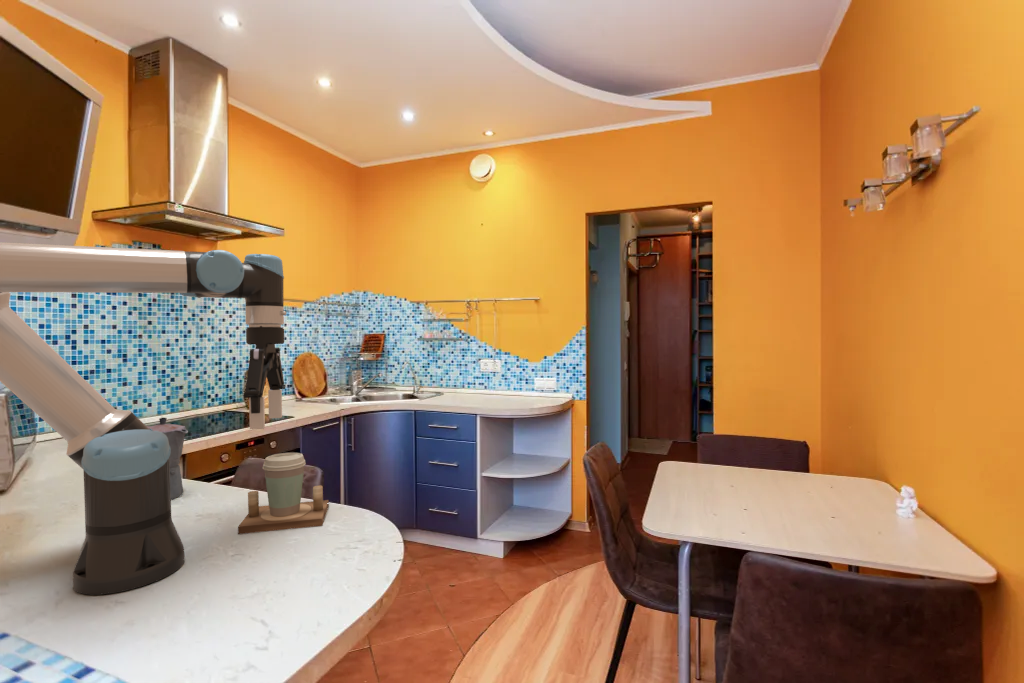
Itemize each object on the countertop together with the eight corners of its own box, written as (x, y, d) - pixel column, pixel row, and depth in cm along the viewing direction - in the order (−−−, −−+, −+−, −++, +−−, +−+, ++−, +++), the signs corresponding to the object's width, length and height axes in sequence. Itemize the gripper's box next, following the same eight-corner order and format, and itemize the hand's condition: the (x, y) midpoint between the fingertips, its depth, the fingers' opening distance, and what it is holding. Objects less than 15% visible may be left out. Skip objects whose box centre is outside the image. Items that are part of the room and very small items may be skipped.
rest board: (322, 525, 105) (321, 494, 105) (238, 534, 101) (237, 502, 101) (328, 506, 117) (328, 478, 117) (253, 513, 113) (252, 484, 113)
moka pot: (177, 503, 120) (174, 420, 120) (114, 504, 121) (111, 421, 120) (202, 490, 130) (200, 413, 129) (144, 491, 130) (141, 414, 130)
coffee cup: (313, 505, 112) (313, 452, 112) (293, 519, 104) (293, 462, 104) (277, 504, 113) (276, 451, 113) (254, 518, 105) (253, 461, 105)
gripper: (267, 325, 98) (268, 433, 98) (296, 326, 123) (298, 413, 123) (225, 325, 97) (227, 435, 97) (263, 327, 121) (265, 414, 122)
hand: (266, 423), depth 110 cm, fingers open, 13 cm apart
